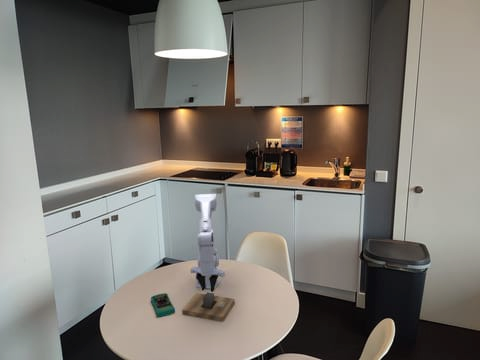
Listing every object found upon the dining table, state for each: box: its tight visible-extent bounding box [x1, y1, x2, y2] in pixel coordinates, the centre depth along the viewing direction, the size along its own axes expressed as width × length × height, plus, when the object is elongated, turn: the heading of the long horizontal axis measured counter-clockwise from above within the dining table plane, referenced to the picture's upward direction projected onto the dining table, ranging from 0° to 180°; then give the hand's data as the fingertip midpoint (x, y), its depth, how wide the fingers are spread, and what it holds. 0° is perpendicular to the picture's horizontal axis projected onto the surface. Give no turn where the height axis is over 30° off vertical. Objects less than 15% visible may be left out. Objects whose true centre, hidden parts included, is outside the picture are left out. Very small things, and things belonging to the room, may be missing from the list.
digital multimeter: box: [150, 292, 176, 318], centre depth 154 cm, size 7×15×3 cm, turn 24°
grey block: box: [203, 291, 215, 309], centre depth 151 cm, size 3×4×6 cm
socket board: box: [181, 292, 235, 322], centre depth 152 cm, size 18×14×3 cm
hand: (208, 290), depth 150 cm, fingers open, 3 cm apart
